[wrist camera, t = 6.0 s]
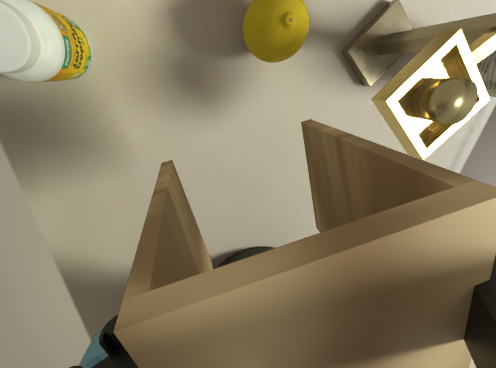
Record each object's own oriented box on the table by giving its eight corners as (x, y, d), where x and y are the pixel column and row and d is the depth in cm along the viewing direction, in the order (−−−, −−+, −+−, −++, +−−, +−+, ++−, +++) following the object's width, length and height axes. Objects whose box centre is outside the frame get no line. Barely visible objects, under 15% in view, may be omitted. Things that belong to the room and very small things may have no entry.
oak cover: (203, 266, 18) (222, 485, 9) (161, 162, 15) (113, 332, 5) (324, 225, 19) (465, 381, 9) (310, 119, 16) (510, 192, 6)
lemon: (225, 25, 25) (240, 6, 18) (270, -11, 25) (303, -46, 18) (255, 75, 28) (279, 75, 21) (297, 42, 28) (336, 31, 20)
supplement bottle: (14, 16, 22) (-97, -21, 13) (82, 11, 23) (17, -28, 14) (42, 83, 24) (-38, 89, 16) (102, 76, 25) (58, 78, 16)
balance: (329, 125, 32) (457, 172, 17) (300, 89, 29) (419, 105, 14) (453, 2, 29) (736, -73, 14) (432, -49, 27) (750, -208, 12)
